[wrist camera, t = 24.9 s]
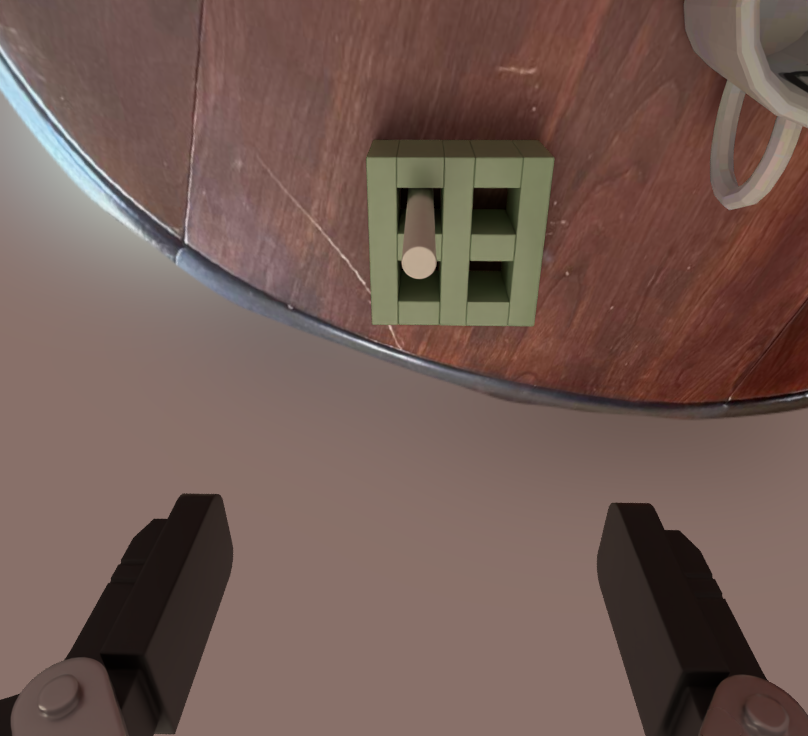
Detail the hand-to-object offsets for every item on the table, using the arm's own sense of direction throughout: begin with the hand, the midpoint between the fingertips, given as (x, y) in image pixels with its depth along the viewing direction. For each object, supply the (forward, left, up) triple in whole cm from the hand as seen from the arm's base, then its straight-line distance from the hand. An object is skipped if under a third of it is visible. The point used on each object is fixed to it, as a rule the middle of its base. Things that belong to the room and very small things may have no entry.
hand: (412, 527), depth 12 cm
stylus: (0, 0, -28) cm, 28 cm away
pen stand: (+2, -2, -28) cm, 28 cm away
